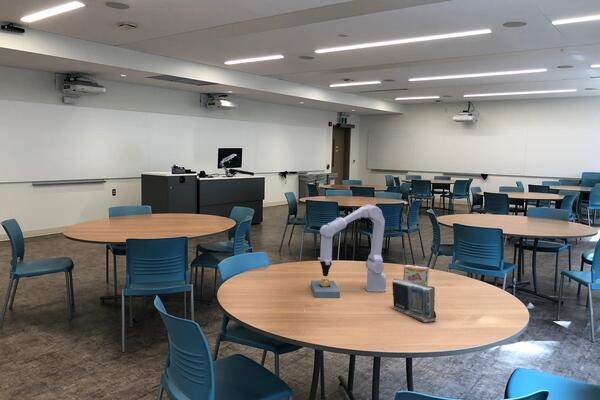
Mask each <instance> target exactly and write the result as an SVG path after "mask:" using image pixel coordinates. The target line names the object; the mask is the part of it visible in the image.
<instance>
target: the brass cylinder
mask: <svg viewBox="0 0 600 400" xmlns="http://www.w3.org/2000/svg"><path fill="white" fill-rule="evenodd" d="M320 280H321V287H329V281H330V280H329V279H328V278H322V279H320Z"/></svg>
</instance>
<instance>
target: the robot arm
mask: <svg viewBox="0 0 600 400" xmlns="http://www.w3.org/2000/svg"><path fill="white" fill-rule="evenodd" d="M359 218H368V219H369V220H371V222H372V223H373V229H372V230H373V231H372V238H371V239H372V240H371V249H370V253H369V254H368V258H367V260H366V261H365V267H366V269H367V272H366V286H364V289H365V290H366V291H367V292H368V293H369V292H372V293H373V292H374V293H375V292H377V293H378V292H379V293H380V292H387V291H386V289H387V287H386V285H387V275H386V273H385V272H383V271H384V264H383V262H384V260H383V256H382V249H383V240H384V235H385V233H384V232H385V224H386V221H385V217H384V216H383V211H382V209H381V208H379V207H378V206H377V205H376V206H375V205H372V204H368V203H367V204H365V205H364V206H360V207H359V208H358V209H356V210H354V211H353V212H351V213H350V214H348V215H346V216H344V217H341V216H339V217H336V218H335V219H334V220H333V221H331V222H328V223H327V224H323V225H322V226H321V227H320V229H319V233H320V235H321V236H320V255H319V256H320V257H319V256H318V257H317V260H318V261H319V260H320V261H319V263H320V266H321V271H322V276H323V277H328V275H329V272H330V268H331V266H332V264H333V263H332V260H333V257H332V256H333V238H334V236H335V234H336V233H338V232H340V231H341V230H342V231H343V230H344V229H345V228H347V226H348V224H350V223H351V222H354V221H355V220H357V219H359Z"/></svg>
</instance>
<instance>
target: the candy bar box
mask: <svg viewBox="0 0 600 400" xmlns="http://www.w3.org/2000/svg"><path fill="white" fill-rule="evenodd" d="M429 271H430V268H429V267H428V266H427V267H425V266H419V265H411V264H406V265H404V267H403V279H402V280H405V281H409V282H414V283H417V284H419V285H424V286H429Z"/></svg>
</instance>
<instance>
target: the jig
mask: <svg viewBox="0 0 600 400" xmlns="http://www.w3.org/2000/svg"><path fill="white" fill-rule="evenodd" d="M310 288H311V291H312V293H313V296H314V298H315V299H317V298H318V299H319V298H320V299H324V298H325V299H328V298H329V299H340V298H341V291H340V289H339V288H338V286H337V284H336V282H335V280H329V287H321V279H320V280H314V279H313V280H310Z"/></svg>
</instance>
